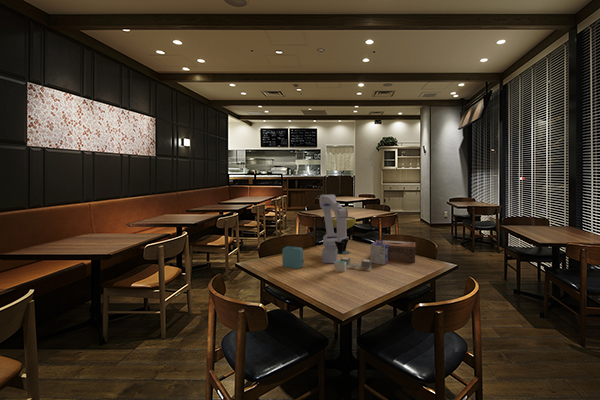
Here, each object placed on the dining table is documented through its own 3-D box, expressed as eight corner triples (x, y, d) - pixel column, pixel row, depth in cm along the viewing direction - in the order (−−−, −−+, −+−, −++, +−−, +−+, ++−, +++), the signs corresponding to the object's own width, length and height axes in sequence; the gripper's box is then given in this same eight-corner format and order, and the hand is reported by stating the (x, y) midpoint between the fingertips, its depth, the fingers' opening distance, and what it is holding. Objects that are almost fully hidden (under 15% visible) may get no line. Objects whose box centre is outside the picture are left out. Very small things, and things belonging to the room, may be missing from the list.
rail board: (338, 267, 186) (338, 265, 186) (342, 263, 194) (342, 261, 194) (370, 271, 178) (370, 269, 178) (372, 266, 187) (372, 265, 187)
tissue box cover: (414, 256, 209) (415, 242, 209) (415, 262, 196) (415, 247, 195) (376, 253, 218) (376, 239, 218) (373, 258, 205) (374, 244, 204)
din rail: (339, 265, 187) (339, 264, 187) (341, 262, 192) (341, 261, 192) (370, 268, 180) (370, 267, 180) (372, 266, 185) (372, 265, 185)
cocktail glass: (328, 255, 214) (328, 219, 212) (331, 248, 232) (331, 216, 229) (354, 256, 210) (355, 220, 208) (355, 250, 228) (356, 216, 225)
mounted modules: (340, 264, 187) (340, 259, 187) (342, 261, 192) (342, 256, 191) (369, 267, 180) (369, 262, 180) (371, 264, 185) (371, 259, 185)
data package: (303, 266, 188) (303, 247, 187) (300, 268, 184) (300, 249, 182) (285, 264, 192) (285, 246, 191) (282, 266, 188) (282, 247, 187)
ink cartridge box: (388, 263, 194) (388, 240, 193) (385, 265, 189) (385, 242, 188) (373, 260, 200) (373, 238, 198) (369, 262, 195) (370, 240, 194)
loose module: (334, 270, 180) (334, 262, 179) (336, 268, 183) (336, 260, 183) (344, 271, 178) (344, 263, 177) (346, 269, 181) (346, 261, 181)
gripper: (345, 230, 171) (345, 255, 171) (351, 228, 185) (351, 250, 185) (333, 230, 174) (333, 254, 174) (339, 227, 187) (340, 250, 187)
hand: (342, 252), depth 180 cm, fingers open, 7 cm apart
